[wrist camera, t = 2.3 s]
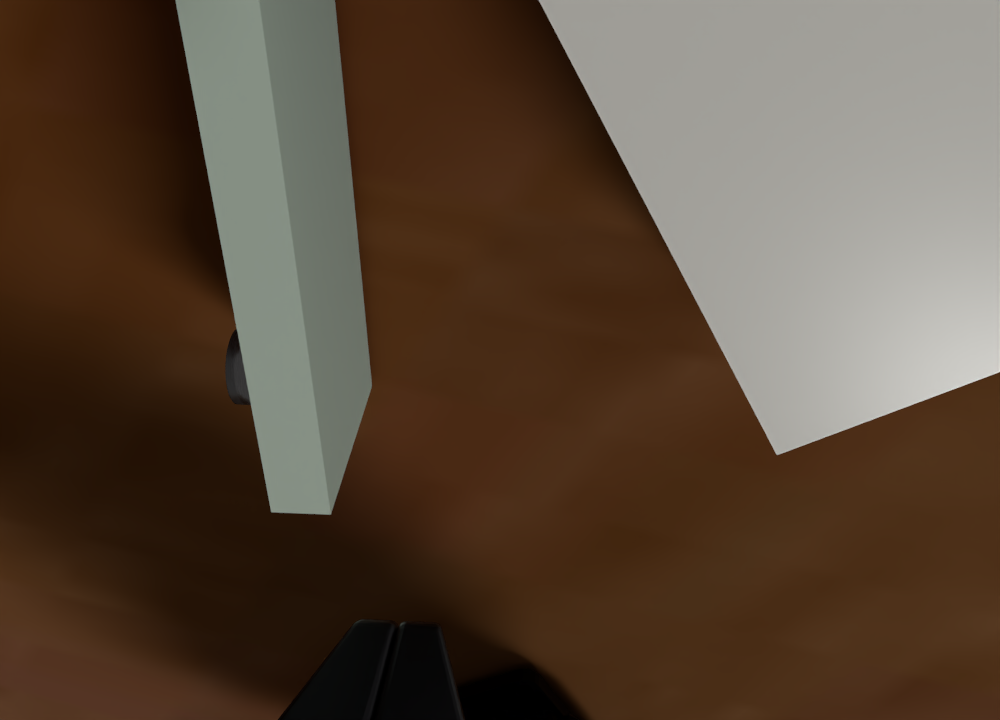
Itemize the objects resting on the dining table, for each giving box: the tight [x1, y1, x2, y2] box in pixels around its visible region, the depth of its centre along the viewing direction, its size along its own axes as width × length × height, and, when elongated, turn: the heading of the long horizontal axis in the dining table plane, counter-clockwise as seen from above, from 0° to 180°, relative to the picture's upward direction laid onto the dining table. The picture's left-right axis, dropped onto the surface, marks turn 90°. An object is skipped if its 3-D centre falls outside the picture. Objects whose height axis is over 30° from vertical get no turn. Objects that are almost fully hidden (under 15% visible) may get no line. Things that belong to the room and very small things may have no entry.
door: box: [175, 0, 372, 515], centre depth 15 cm, size 2×16×4 cm, turn 0°
